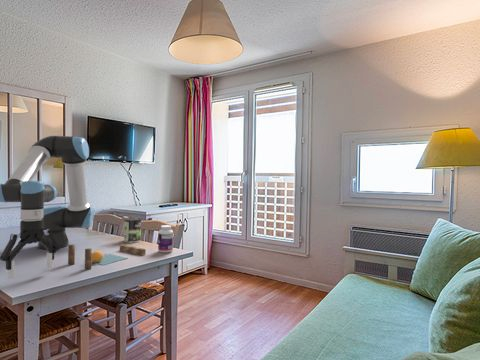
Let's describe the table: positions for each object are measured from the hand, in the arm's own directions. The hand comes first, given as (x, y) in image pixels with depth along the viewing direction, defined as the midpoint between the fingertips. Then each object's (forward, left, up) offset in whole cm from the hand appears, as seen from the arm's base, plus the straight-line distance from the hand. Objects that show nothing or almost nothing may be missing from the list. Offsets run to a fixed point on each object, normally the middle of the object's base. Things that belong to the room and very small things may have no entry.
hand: (31, 272), depth 117 cm
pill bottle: (+13, +62, -3) cm, 63 cm away
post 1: (-6, +20, -3) cm, 21 cm away
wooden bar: (0, +50, -3) cm, 50 cm away
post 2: (+6, +20, -3) cm, 21 cm away
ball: (0, +28, 0) cm, 28 cm away
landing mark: (0, +34, -3) cm, 34 cm away
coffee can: (-22, +69, -3) cm, 72 cm away
